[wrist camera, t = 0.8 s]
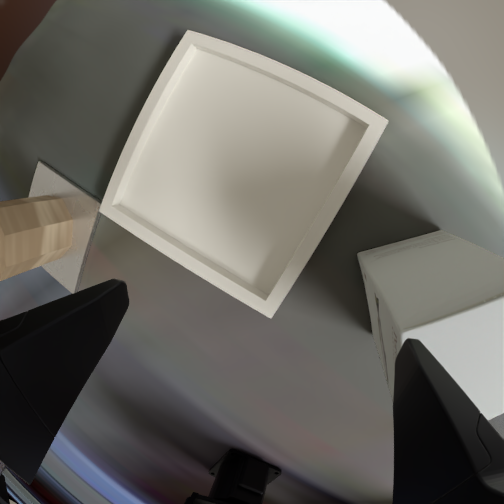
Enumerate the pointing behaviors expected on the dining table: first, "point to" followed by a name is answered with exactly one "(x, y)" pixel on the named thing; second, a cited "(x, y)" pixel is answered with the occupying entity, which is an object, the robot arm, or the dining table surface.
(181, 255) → the plastic tray
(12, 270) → the wooden pen holder
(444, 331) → the supplement box
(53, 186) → the white square pedestal
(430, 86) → the dining table surface
